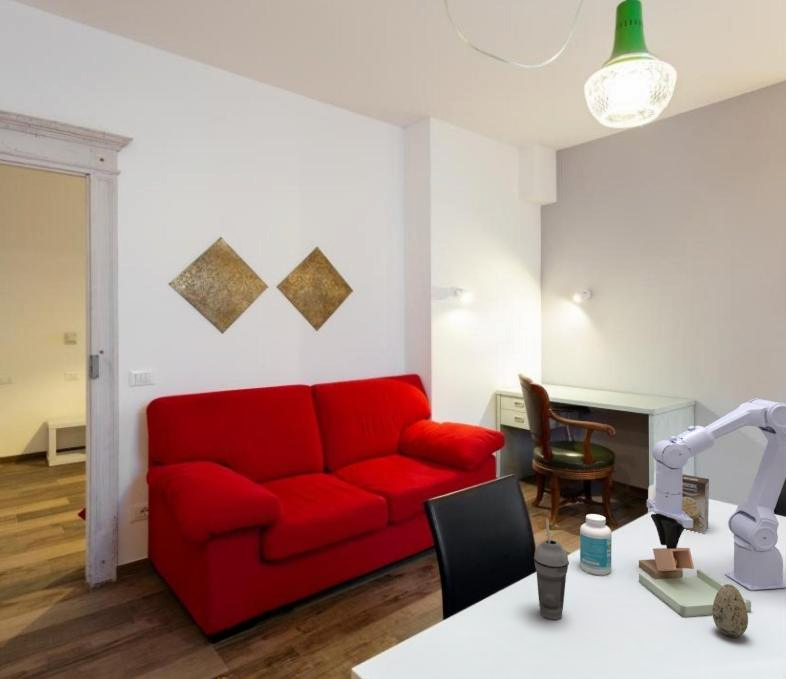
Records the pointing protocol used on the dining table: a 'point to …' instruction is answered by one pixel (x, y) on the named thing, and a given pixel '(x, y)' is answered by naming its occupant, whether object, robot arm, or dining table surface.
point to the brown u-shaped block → (666, 559)
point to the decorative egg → (730, 611)
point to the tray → (687, 593)
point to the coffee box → (696, 501)
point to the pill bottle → (595, 545)
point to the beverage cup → (551, 576)
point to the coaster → (651, 570)
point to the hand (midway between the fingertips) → (668, 546)
